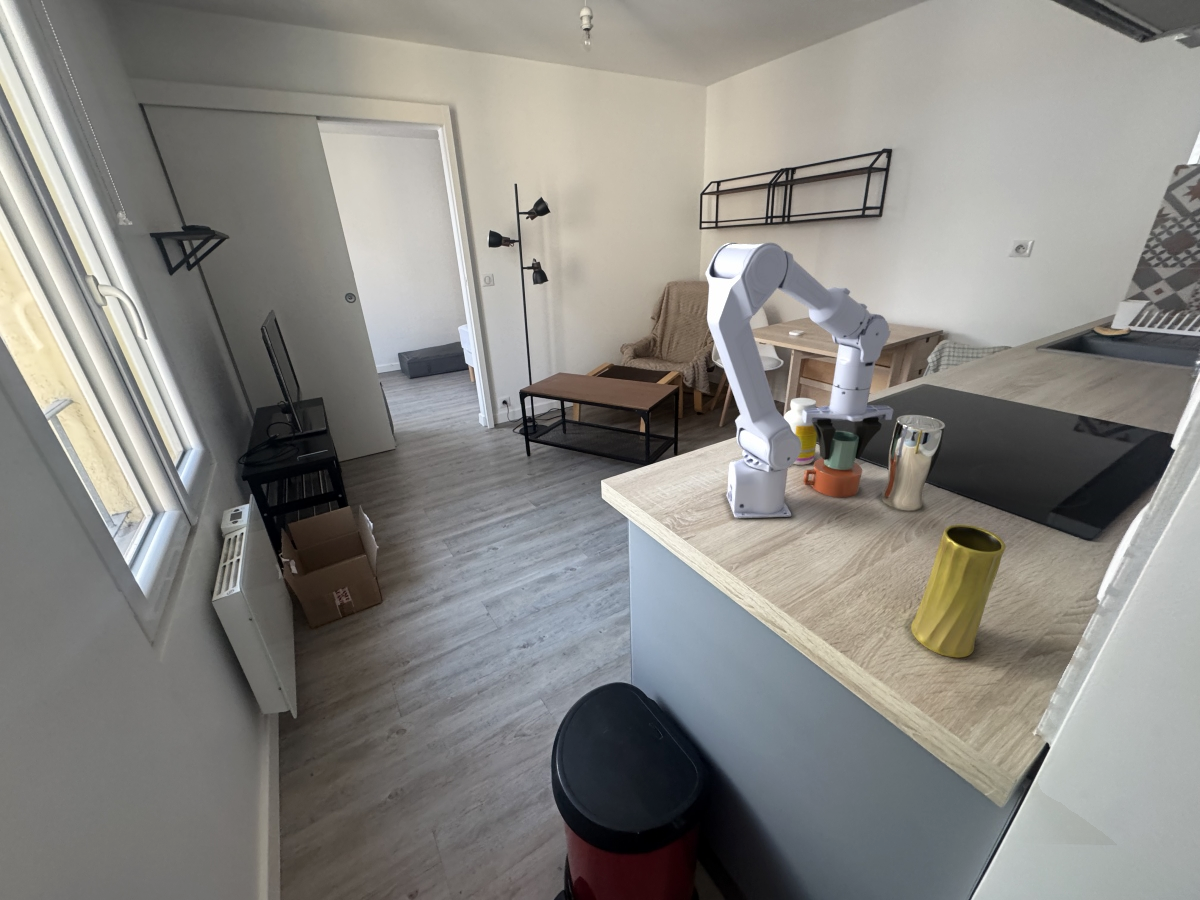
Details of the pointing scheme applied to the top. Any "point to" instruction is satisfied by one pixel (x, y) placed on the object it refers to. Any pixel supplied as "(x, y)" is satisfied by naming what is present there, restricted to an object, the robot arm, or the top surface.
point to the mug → (834, 479)
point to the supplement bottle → (802, 429)
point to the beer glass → (911, 460)
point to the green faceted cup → (842, 450)
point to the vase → (958, 590)
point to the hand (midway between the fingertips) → (839, 456)
